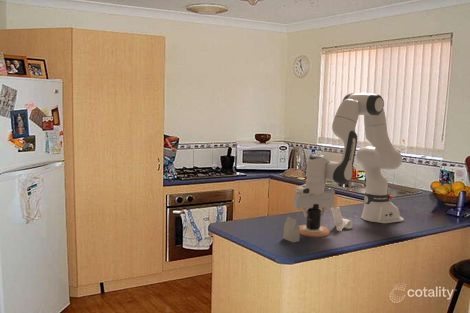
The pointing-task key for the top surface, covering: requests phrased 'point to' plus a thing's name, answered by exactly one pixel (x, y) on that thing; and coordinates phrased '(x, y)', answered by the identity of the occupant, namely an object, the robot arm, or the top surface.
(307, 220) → the supplement bottle
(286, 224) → the tea bag
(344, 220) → the plastic part
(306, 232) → the peach rimmed plate
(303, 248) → the top surface
